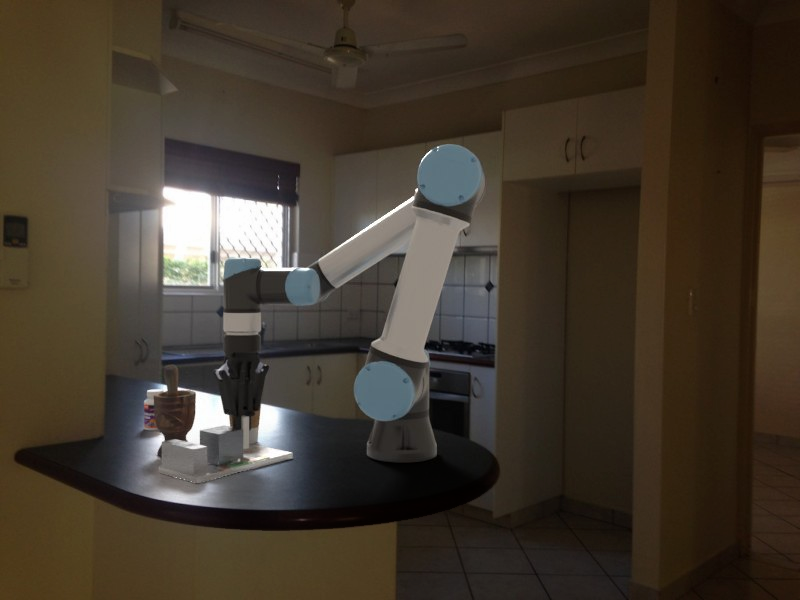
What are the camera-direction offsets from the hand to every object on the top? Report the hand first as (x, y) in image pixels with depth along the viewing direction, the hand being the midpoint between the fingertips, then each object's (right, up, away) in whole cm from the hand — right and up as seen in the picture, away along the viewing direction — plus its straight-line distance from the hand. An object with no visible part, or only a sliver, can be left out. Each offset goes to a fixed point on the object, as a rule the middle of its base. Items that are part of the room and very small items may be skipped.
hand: (241, 447), depth 142 cm
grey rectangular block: (-2, -2, -5) cm, 6 cm away
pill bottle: (-29, -2, +32) cm, 43 cm away
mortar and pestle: (-15, -3, +5) cm, 16 cm away
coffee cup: (-3, -3, +18) cm, 18 cm away
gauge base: (-2, -3, -3) cm, 5 cm away
